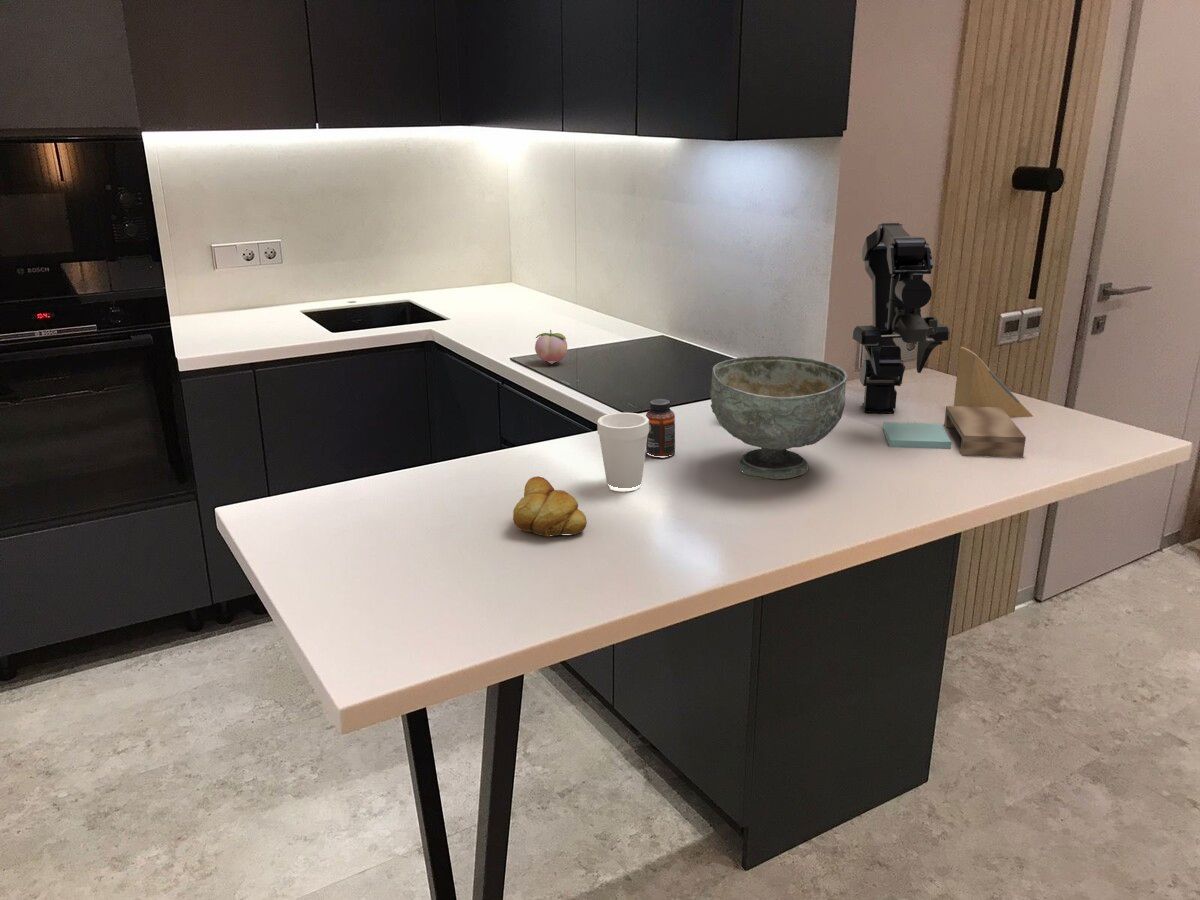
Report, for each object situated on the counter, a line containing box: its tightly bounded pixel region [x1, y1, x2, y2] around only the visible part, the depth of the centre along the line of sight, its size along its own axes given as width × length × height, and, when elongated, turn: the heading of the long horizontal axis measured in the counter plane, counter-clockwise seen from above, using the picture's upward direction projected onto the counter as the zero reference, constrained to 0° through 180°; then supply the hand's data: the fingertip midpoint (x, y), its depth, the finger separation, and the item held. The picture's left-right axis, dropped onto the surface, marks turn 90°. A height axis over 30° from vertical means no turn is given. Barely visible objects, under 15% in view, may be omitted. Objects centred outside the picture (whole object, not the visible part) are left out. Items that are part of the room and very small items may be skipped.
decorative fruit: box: [534, 329, 568, 362], centre depth 262 cm, size 9×8×10 cm
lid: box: [882, 421, 952, 450], centre depth 197 cm, size 12×12×2 cm
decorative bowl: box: [709, 355, 848, 480], centre depth 179 cm, size 26×26×20 cm
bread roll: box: [512, 476, 587, 537], centre depth 156 cm, size 13×10×8 cm
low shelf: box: [943, 405, 1027, 458], centre depth 194 cm, size 12×20×4 cm, turn 171°
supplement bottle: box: [645, 398, 676, 456], centre depth 189 cm, size 6×6×11 cm
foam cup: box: [596, 412, 649, 488], centre depth 173 cm, size 10×9×13 cm
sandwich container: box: [953, 346, 1034, 419], centre depth 210 cm, size 9×15×15 cm, turn 93°
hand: (897, 373), depth 196 cm, fingers open, 9 cm apart
